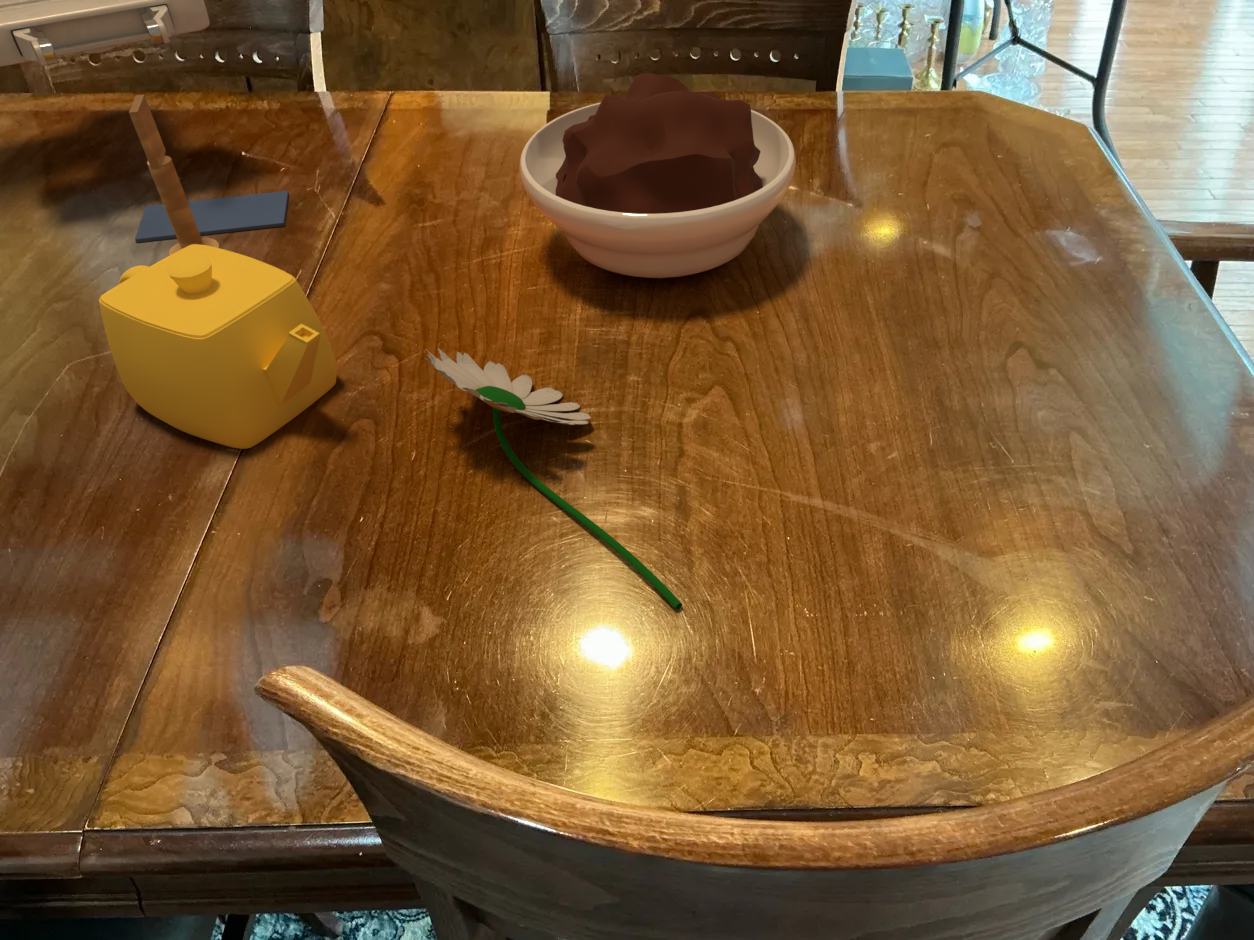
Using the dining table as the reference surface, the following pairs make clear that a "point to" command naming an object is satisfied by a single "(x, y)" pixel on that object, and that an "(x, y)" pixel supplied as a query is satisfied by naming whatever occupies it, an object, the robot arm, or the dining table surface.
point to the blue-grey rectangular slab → (219, 215)
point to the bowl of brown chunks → (658, 177)
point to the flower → (518, 398)
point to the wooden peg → (166, 179)
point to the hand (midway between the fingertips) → (104, 45)
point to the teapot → (217, 344)
